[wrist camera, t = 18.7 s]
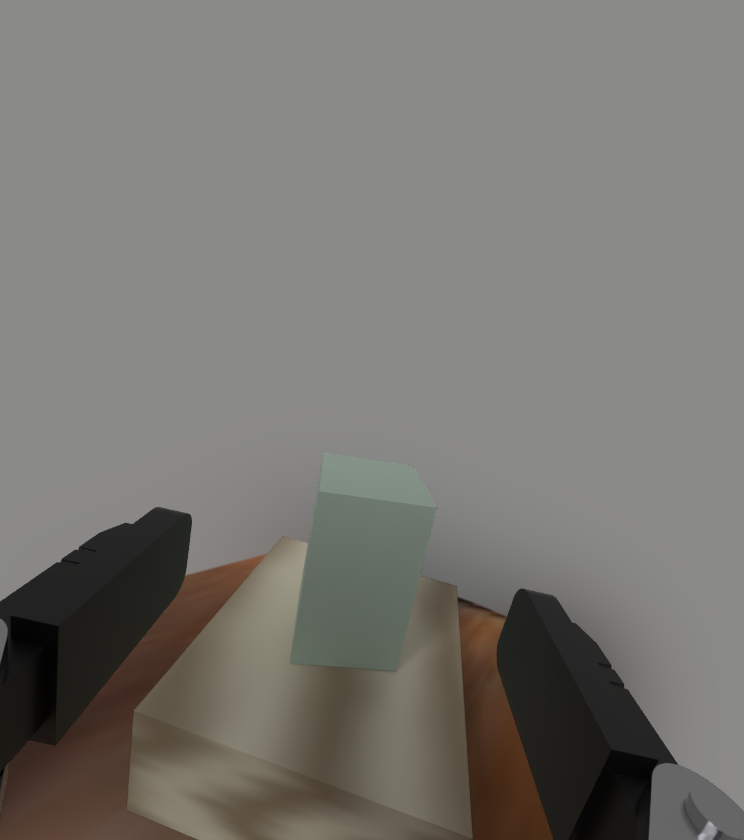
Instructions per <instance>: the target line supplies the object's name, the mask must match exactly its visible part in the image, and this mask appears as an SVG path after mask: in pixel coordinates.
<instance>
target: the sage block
mask: <svg viewBox="0 0 744 840" xmlns="http://www.w3.org/2000/svg"><path fill="white" fill-rule="evenodd" d="M436 511H437V506H436V505H435V503H434V501H433V499H432V498H431V496H430V495H429V492H428V491H427V489H426V487H425V485H424V484H423V482H422V480H421V478H420V477H419V475H418V473H417V471H416V470H415V468H414V466H410V465H403V464H396V463H390V462H384V461H377V460H371V459H364V458H358V457H350V456H344V455H338V454H331V453H324V452H323V458H322V464H321V470H320V476H319V481H318V487H317V493H316V499H315V505H314V510H313V516H312V522H311V528H310V534H309V539H308V545H307V551H306V557H305V563H304V568H303V574H302V580H301V586H300V592H299V599H298V607H297V614H296V621H295V628H294V635H293V642H292V650H291V657H290V663H293V664H306V665H319V666H332V667H345V668H358V669H371V670H384V671H397V667H398V663H399V659H400V655H401V651H402V647H403V643H404V639H405V635H406V631H407V627H408V623H409V619H410V615H411V611H412V607H413V603H414V599H415V595H416V591H417V587H418V583H419V579H420V575H421V571H422V567H423V563H424V559H425V555H426V551H427V547H428V543H429V539H430V535H431V531H432V526H433V522H434V519H435V514H436Z"/></svg>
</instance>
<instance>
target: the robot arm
mask: <svg viewBox="0 0 744 840" xmlns="http://www.w3.org/2000/svg"><path fill="white" fill-rule="evenodd" d="M191 526H192V518H191V515H190V514H188V513H183V512H179V511H174V510H169V509H165V508H161V507H156V508H154V509H152V510H151V511H150V512H148V513H147V514H146V515H144V516H143V517H142V518H140V519H139V520H138V521H136V522H135V523H134V524H129V523H124V524H121V525H119V526H116V527H113V528H111V529H108V530H106V531H103V532H100V533H99V534H97V535H96V536H94V537H93V538H91V539H90V540H89V541H87V542H86V543H84V544H83V545H81V546H80V547H79V549H78V550H74V551H73V552H71V553H70V554H68V555H67V556H65V557H64V558H63V559H62V560H61V562H60V563H58V562H57V563H55V564H54V565H52V566H51V567H50V568H48V569H47V570H45V571H44V572H42V573H41V574H39V575H38V576H36V577H35V578H34V579H32V580H31V581H29V582H28V583H26V584H25V585H23V586H22V587H21V588H19V589H18V590H16V591H15V592H13V593H12V594H10V595H9V596H8V597H6V598H5V599H3V600H2V601H0V816H1V811H2V805H3V800H4V794H5V789H6V783H7V778H8V770H9V762H10V761H11V760H12V759H13V757H14V756H15V755H16V754H17V753H18V752H19V751H20V749H21V748H22V747H23V746H24V745H25V744H26V743H27V742H28V740H31V741H36V742H41V743H45V744H50V745H56V744H57V743H58V742H59V740H60V739H61V738H62V737H63V735H64V734H65V733H66V732H67V730H68V729H69V728H70V727H71V726H72V724H73V723H74V722H75V721H76V719H77V718H78V717H79V716H80V714H81V713H82V712H83V711H84V709H85V708H86V707H87V706H88V704H89V703H90V702H91V701H92V700H93V698H94V697H95V696H96V695H97V693H98V692H99V691H100V690H101V688H102V687H103V686H104V685H105V683H106V682H107V681H108V680H109V678H110V677H111V676H112V675H113V673H114V672H115V671H116V670H117V669H118V667H119V666H120V665H121V664H122V662H123V661H124V660H125V659H126V657H127V656H128V655H129V654H130V652H131V651H132V650H133V649H134V647H135V646H136V645H137V644H138V643H139V641H140V640H141V639H142V638H143V636H144V635H145V634H146V633H147V631H148V630H149V629H150V628H151V626H152V625H153V624H154V623H155V621H156V620H157V619H158V618H159V617H160V615H161V614H162V613H163V612H164V610H165V609H166V608H167V607H168V605H169V604H170V603H171V602H172V600H173V599H174V598H175V596H176V595H177V593H178V591H179V589H180V587H181V585H182V583H183V580H184V577H185V573H186V568H187V559H188V551H189V543H190V534H191ZM497 666H498V671H499V674H500V677H501V680H502V683H503V686H504V689H505V692H506V695H507V698H508V702H509V705H510V708H511V711H512V714H513V717H514V720H515V723H516V726H517V729H518V732H519V735H520V738H521V741H522V744H523V747H524V751H525V754H526V757H527V760H528V763H529V766H530V769H531V772H532V775H533V778H534V781H535V784H536V787H537V790H538V793H539V796H540V800H541V803H542V806H543V809H544V812H545V815H546V818H547V821H548V824H549V827H550V830H551V833H552V836H553V839H554V840H744V811H743V810H742V809H741V808H740V807H739V806H738V805H737V804H736V803H735V802H734V801H733V800H732V799H730V798H729V797H728V796H727V795H726V794H725V793H724V792H722V791H721V790H720V789H719V788H717V787H716V786H715V785H713V784H712V783H711V782H709V781H708V780H707V779H705V778H703V777H702V776H700V775H699V774H697V773H695V772H693V771H691V770H689V769H687V768H685V767H682V766H680V765H678V764H677V762H676V761H675V759H674V758H673V756H672V755H671V753H670V752H669V750H668V749H667V748H666V746H665V744H664V743H663V741H662V740H661V739H660V737H659V736H658V734H657V733H656V731H655V730H654V728H653V727H652V725H651V724H650V722H649V721H648V719H647V718H646V716H645V715H644V713H643V712H642V710H641V709H640V707H639V706H638V704H637V703H636V701H635V700H634V698H633V697H632V695H631V694H630V692H629V691H628V690H627V689H625V688H624V683H623V682H622V680H621V679H620V678H619V676H618V674H617V673H616V672H615V670H612V669H611V664H610V663H609V661H608V660H607V658H606V657H605V656H604V654H603V652H602V651H601V649H600V648H599V646H598V645H597V643H596V642H595V641H593V640H592V639H591V638H590V637H589V636H588V635H587V634H586V633H585V632H584V631H583V630H582V629H581V628H580V627H579V626H578V625H577V624H575V623H572V622H571V620H570V619H569V617H568V616H567V614H566V612H565V611H564V610H563V608H562V606H561V605H560V603H559V602H558V600H557V599H556V598H555V597H554V596H552V595H548V594H544V593H539V592H535V591H530V590H525V589H519V590H518V591H517V593H516V594H515V596H514V599H513V601H512V605H511V607H510V610H509V613H508V615H507V618H506V621H505V624H504V627H503V629H502V632H501V635H500V638H499V641H498V645H497Z"/></svg>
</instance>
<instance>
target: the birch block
mask: <svg viewBox="0 0 744 840" xmlns="http://www.w3.org/2000/svg"><path fill="white" fill-rule="evenodd" d="M307 545H308V543H305V542H301V541H298V540H295V539H291V538H288V537H284V536H282V537H281V538H280V540H279V541H278V542H277V543H276V544H275V545H274V547H273V548H272V549H271V550H270V551H269V552H268V554H267V555H266V556H265V557H264V558H263V560H262V561H261V562H260V563H259V564H258V565H257V567H256V568H255V569H254V570H253V571H252V572H251V574H250V575H249V576H248V577H247V578H246V580H245V581H244V582H243V583H242V584H241V585H240V587H239V588H238V589H237V590H236V591H235V592H234V594H233V595H232V596H231V597H230V598H229V599H228V601H227V602H226V603H225V604H224V605H223V607H222V608H221V609H220V610H219V611H218V612H217V614H216V615H215V616H214V617H213V618H212V619H211V621H210V622H209V623H208V624H207V625H206V627H205V628H204V629H203V630H202V631H201V632H200V634H199V635H198V636H197V637H196V638H195V639H194V641H193V642H192V643H191V644H190V645H189V647H188V648H187V649H186V650H185V651H184V652H183V654H182V655H181V656H180V657H179V658H178V659H177V661H176V662H175V663H174V664H173V665H172V667H171V668H170V669H169V670H168V671H167V672H166V674H165V675H164V676H163V677H162V678H161V679H160V681H159V682H158V683H157V684H156V685H155V687H154V688H153V689H152V690H151V691H150V692H149V694H148V695H147V696H146V697H145V698H144V699H143V701H142V702H141V703H140V704H139V705H138V707H137V708H136V709H135V710H134V716H133V731H132V745H131V759H130V774H129V788H128V802H127V810H129V811H131V812H134V813H136V814H138V815H141V816H143V817H145V818H148V819H150V820H153V821H155V822H157V823H160V824H162V825H164V826H167V827H169V828H172V829H174V830H176V831H179V832H181V833H183V834H186V835H188V836H191V837H193V838H195V839H198V840H472V839H473V837H472V821H471V805H470V789H469V773H468V757H467V741H466V725H465V710H464V694H463V678H462V662H461V646H460V630H459V614H458V598H457V586H455V585H451V584H448V583H444V582H440V581H437V580H434V579H430V578H427V577H424V576H420V579H419V583H418V587H417V591H416V595H415V599H414V603H413V607H412V611H411V615H410V619H409V623H408V627H407V631H406V635H405V639H404V643H403V647H402V651H401V655H400V659H399V663H398V667H397V671H384V670H371V669H358V668H345V667H332V666H319V665H306V664H293V663H290V657H291V650H292V642H293V635H294V628H295V621H296V614H297V607H298V599H299V592H300V586H301V580H302V574H303V568H304V563H305V557H306V551H307Z"/></svg>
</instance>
